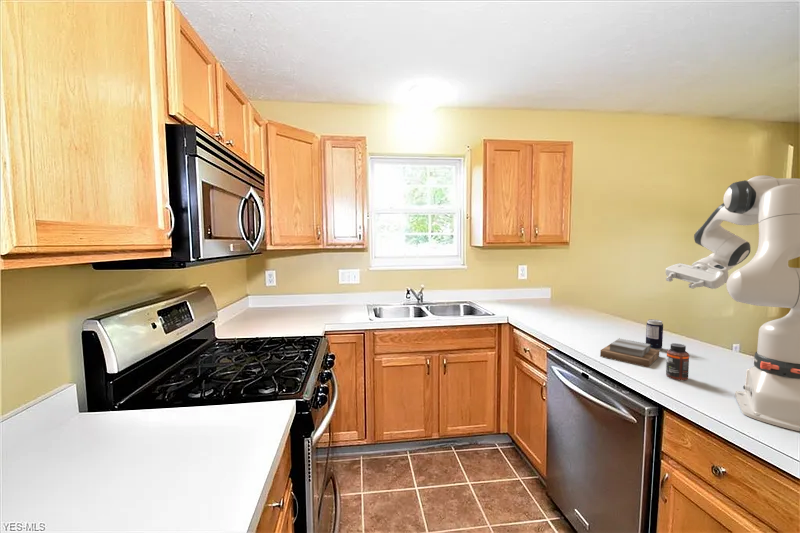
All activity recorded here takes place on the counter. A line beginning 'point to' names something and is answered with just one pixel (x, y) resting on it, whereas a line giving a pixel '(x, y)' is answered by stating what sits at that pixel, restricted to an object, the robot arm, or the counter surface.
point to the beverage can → (654, 334)
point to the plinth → (631, 357)
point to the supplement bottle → (677, 362)
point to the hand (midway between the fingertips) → (678, 283)
